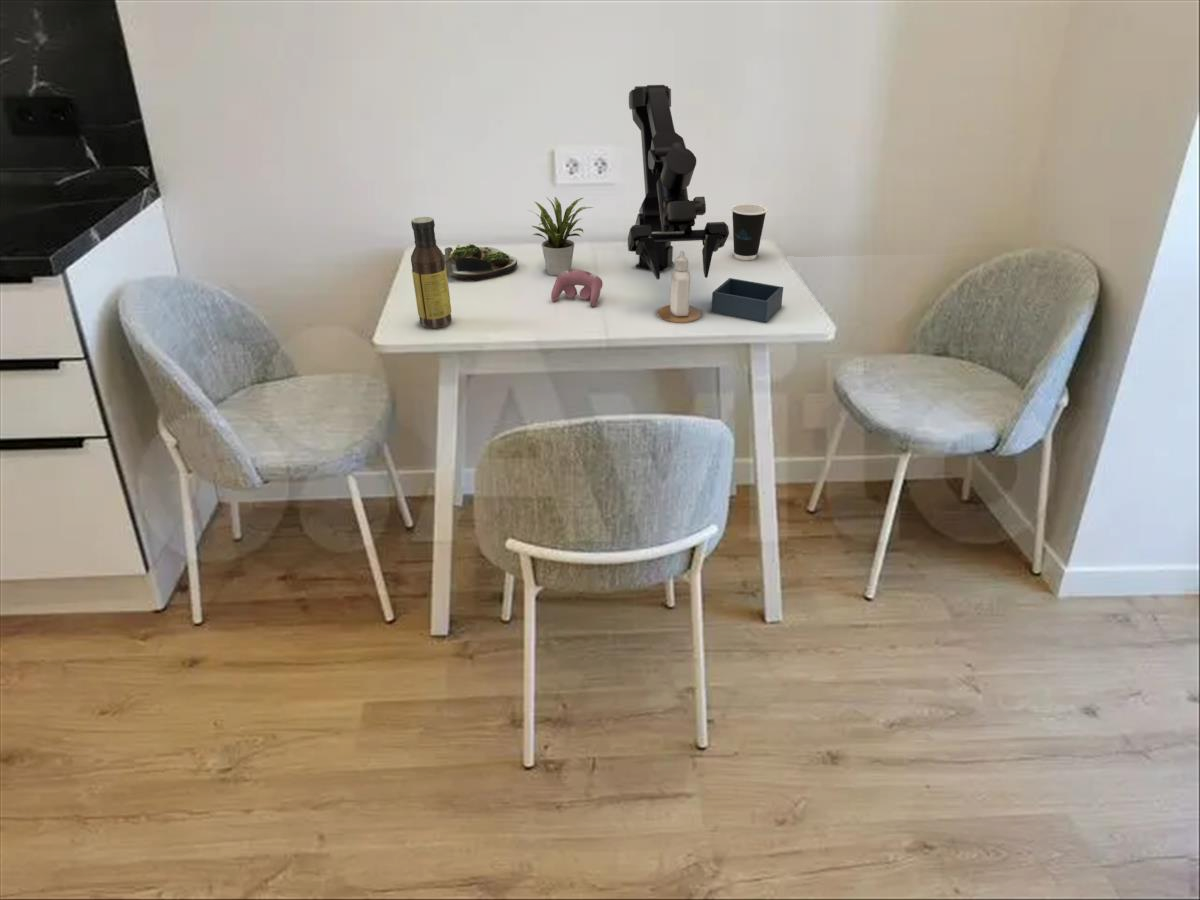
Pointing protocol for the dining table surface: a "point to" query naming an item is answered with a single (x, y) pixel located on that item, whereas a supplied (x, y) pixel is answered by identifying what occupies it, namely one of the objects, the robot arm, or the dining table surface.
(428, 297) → the sauce bottle
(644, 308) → the dining table surface
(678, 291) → the eye dropper bottle
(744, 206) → the dixie cup
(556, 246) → the house plant
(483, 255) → the salad plate
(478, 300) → the dining table surface
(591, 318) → the dining table surface
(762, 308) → the tub
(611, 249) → the dining table surface
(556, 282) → the video game controller
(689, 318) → the coaster
